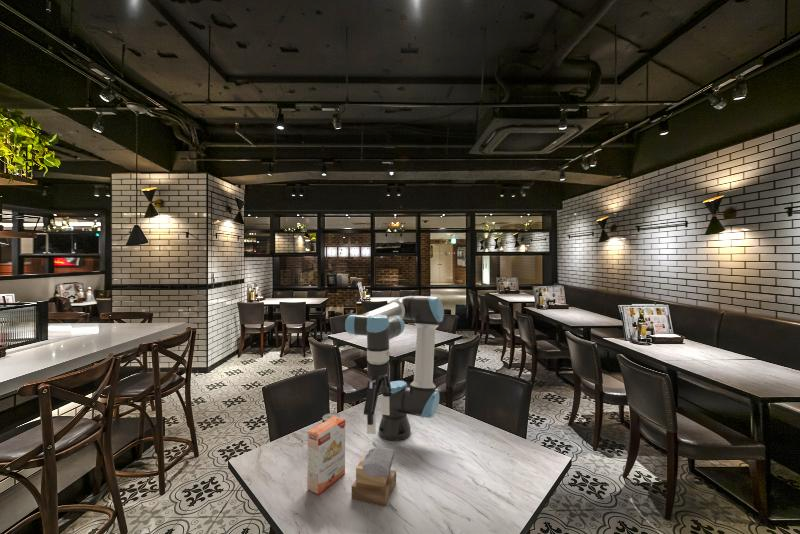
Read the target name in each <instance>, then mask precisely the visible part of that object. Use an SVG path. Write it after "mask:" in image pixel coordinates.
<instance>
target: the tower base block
mask: <svg viewBox="0 0 800 534" xmlns="http://www.w3.org/2000/svg"><path fill="white" fill-rule="evenodd" d="M390 472H391V473H390V475H389V477H388V479H387V481H386V484H385V486H384V487H379V486H374V485H368V484H362V483H356V479H355V480H354V481H353V483H352V485H351V500H353V501H358V502H363V503H368V504H372V505H377V506H381V507H386V505H387V503H388V502H389V499H390V498H391V496H392V495H391V494H392V493H393V490H394V488H395V487H396V484H397V470H393V469H390Z"/></svg>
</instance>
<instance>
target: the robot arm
mask: <svg viewBox="0 0 800 534" xmlns="http://www.w3.org/2000/svg"><path fill="white" fill-rule="evenodd" d="M444 314H445V312H444V305H443V302H442V300H441V299H440V298H439V297H438V296H431V295H428V296H427V295H426V296H425V295H423V296H422V295H407V296H403V297H399V298H396V299H393V300H390V301H389V302H388V304H385V305H383V306H381V307H378V308H376V309H373V310H370V311H367V312H364V313H361V314H349V315H348V316H347V317H346V319H345V323H344V325H345V326H344V327H345V328H344V329H345V331H346V333H347V334H350V335H354V336H365V337H366V342H367V343H366V346H367V347H366V361H367V362H366V365H367V366H366V367H367V369H366V370H367V374H368V375H370V376H371V380H370V381H367V384H366V385H367V390H366V395H365V403H364V408H363V415H366V434H369V435H376V434H377V424H376V423H377V421H376V420H377V418H376V415H377V413H376V412H375V410H376V407H377V403H378V397H379V394H380V393H381V419H380V423H379V425H378V436H380V438H382V439H383V440H387V441H393V442H396V441H402V440H403V441H404V440H405V439H407V438H408V437H410V435H411V432H412V429H411V423H410V422H409V418H408V415H411V416H415V417H421V418H423V419H424V418H427V419H432V418H433V417H434V416H435V414H436V413H437V410H438V408H439V403H440V392H439V391H438V390H436V387H437V386H436V385H435V383H434V382H433V381H434V379H433V378H434V362H435V360H434V359H435V343H436V330H437V328H438V327H439V326H440V323H441V322H443V321H444V316H445V315H444ZM404 320H409V321H414V325H415V327H416V341H415V343H416V346H415V357H414V358H415V359H414V360H415V361H414V371H413V372H414V374H413V381H412V382H410V385H409V386H408V384H407V382H406V381H404V380H394V381H390V376H389V373H390V361H389V360H390V356H391V352H390V340H391V339H394V338H396V337H399V336H400V335H401V334H402V333H403V332H404V330H405V328H406V327H405V321H404Z"/></svg>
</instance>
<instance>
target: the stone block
mask: <svg viewBox="0 0 800 534" xmlns="http://www.w3.org/2000/svg"><path fill="white" fill-rule="evenodd" d="M367 452H368V453H367V454H365V455H366V456H365V459H364V461H363V471H364V473H365V474H366V475H369V476H388V475H389V472H390V470H392V466H393V463H394V462H393V461H394V459H395V450H394V449H393V448H387V447H375V448H371V449H369V450H368V451H367Z"/></svg>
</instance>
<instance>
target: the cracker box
mask: <svg viewBox="0 0 800 534" xmlns="http://www.w3.org/2000/svg"><path fill="white" fill-rule="evenodd" d="M345 474H346V419H345V418H341V417H340V418H338V417H336V416H334V417H332V418H330V419H329V420H327V421H325V422H322V423H320V424H318V425H316V426H314V427H313V428H311V429H309V430H307V481H306V482H307V485H306V486H307V490H309V491H310V492H312V493H314V494H316V495H320V494H321V493H322V492H324V491H325V490H326V489H328V487H330V486H331V485H332V484H334V483H335V482H336V481H338V479H340V478H341V477H342V476H344V475H345Z"/></svg>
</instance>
